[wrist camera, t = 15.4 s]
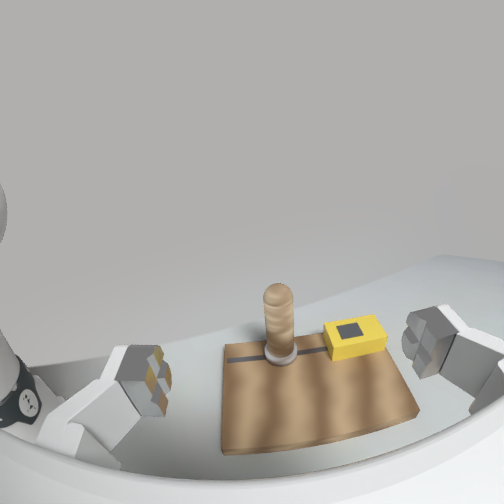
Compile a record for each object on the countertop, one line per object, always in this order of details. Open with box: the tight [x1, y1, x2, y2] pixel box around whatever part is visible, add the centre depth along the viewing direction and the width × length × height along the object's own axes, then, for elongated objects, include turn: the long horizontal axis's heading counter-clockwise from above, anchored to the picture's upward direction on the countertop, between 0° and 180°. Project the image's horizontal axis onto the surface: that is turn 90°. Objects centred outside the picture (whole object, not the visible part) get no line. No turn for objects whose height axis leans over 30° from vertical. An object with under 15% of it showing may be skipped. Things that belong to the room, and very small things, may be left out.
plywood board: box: [221, 333, 420, 455], centre depth 37 cm, size 26×20×2 cm
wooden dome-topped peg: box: [263, 283, 297, 367], centre depth 39 cm, size 5×5×13 cm
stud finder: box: [323, 314, 388, 361], centre depth 41 cm, size 9×6×3 cm, turn 93°
